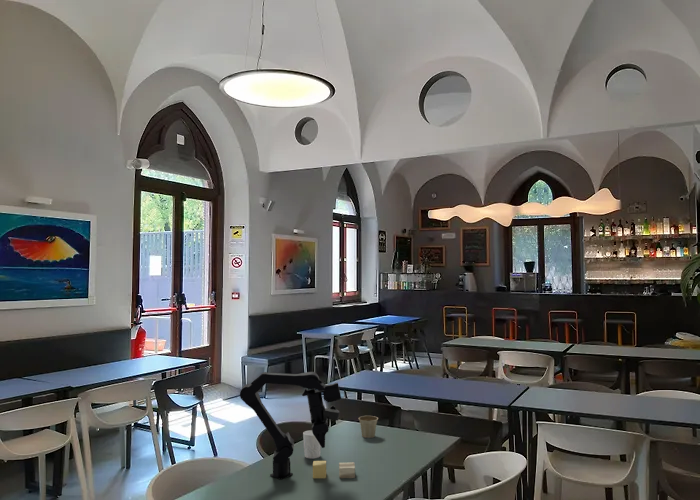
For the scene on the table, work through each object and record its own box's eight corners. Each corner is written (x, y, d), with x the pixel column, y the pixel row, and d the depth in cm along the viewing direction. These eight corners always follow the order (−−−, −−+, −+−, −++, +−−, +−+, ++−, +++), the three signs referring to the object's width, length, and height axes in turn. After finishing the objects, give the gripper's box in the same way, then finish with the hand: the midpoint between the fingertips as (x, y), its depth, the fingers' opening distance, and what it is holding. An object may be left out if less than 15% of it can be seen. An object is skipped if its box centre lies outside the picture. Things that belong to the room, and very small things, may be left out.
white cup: (299, 457, 237) (299, 434, 237) (309, 452, 244) (309, 429, 244) (315, 460, 233) (315, 436, 234) (325, 454, 240) (324, 431, 241)
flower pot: (381, 435, 267) (381, 417, 268) (372, 440, 259) (372, 421, 260) (365, 432, 272) (364, 414, 273) (355, 437, 264) (354, 419, 265)
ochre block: (325, 478, 213) (325, 465, 213) (312, 478, 213) (312, 465, 213) (326, 473, 218) (326, 460, 218) (313, 473, 218) (313, 460, 218)
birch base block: (355, 478, 213) (354, 467, 213) (339, 478, 213) (339, 468, 213) (354, 472, 219) (354, 462, 219) (339, 473, 219) (339, 462, 219)
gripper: (337, 406, 210) (345, 447, 209) (334, 395, 228) (341, 433, 228) (308, 412, 209) (316, 453, 208) (307, 400, 227) (314, 438, 227)
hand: (322, 444), depth 218 cm, fingers open, 9 cm apart
